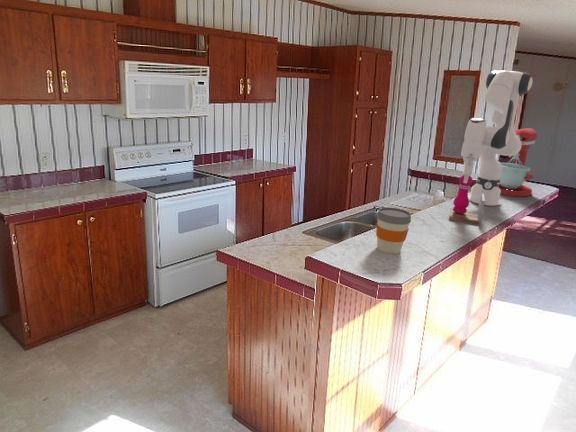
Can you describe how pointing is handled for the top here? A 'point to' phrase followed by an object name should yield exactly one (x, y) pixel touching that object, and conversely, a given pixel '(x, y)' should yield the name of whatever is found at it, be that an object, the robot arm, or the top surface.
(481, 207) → the bookend
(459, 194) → the pepper mill
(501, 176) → the stand mixer
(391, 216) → the reusable coffee cup
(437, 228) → the top surface
